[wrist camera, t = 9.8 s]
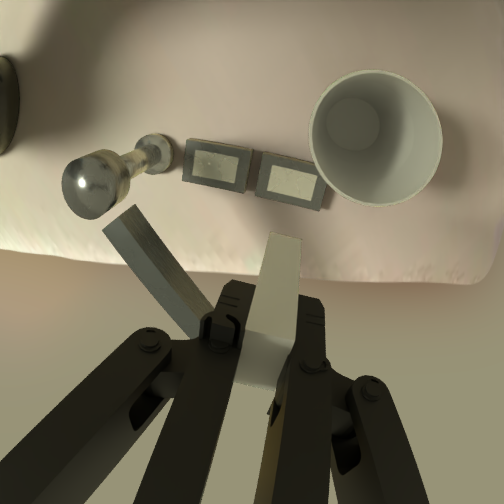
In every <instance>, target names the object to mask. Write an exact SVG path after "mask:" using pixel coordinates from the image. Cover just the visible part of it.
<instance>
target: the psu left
mask: <svg viewBox="0 0 504 504" xmlns="http://www.w3.org/2000/svg"><path fill="white" fill-rule="evenodd" d="M252 154H253V149H249V148H244V147H239V146H234V145H228V144H223V143H217V142H211V141H205V140H199V139H192V138H190V139H187V140H186V148H185V156H184V166H183V175H182V181H185V182H190V183H195V184H201V185H206V186H211V187H215V188H220V189H225V190H230V191H234V192H239V193H244V192H245V191H246V186H247V181H248V175H249V170H250V164H251V159H252Z"/></svg>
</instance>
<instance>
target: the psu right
mask: <svg viewBox="0 0 504 504" xmlns="http://www.w3.org/2000/svg"><path fill="white" fill-rule="evenodd" d="M326 186H327V183H326V181H325V180H324V179H323V178H322V176H321V175H320V173H319V172H318V170H317V168H316V166H315V164H314V163H312V162H308V161H303V160H299V159H295V158H291V157H287V156H282V155H278V154H273V153H269V152H264V153H263V155H262V160H261V165H260V170H259V176H258V181H257V186H256V191H255V196H257V197H262V198H266V199H270V200H275V201H279V202H283V203H287V204H292V205H296V206H300V207H304V208H308V209H312V210H316V211H320V207H321V204H322V200H323V196H324V193H325V189H326Z"/></svg>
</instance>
